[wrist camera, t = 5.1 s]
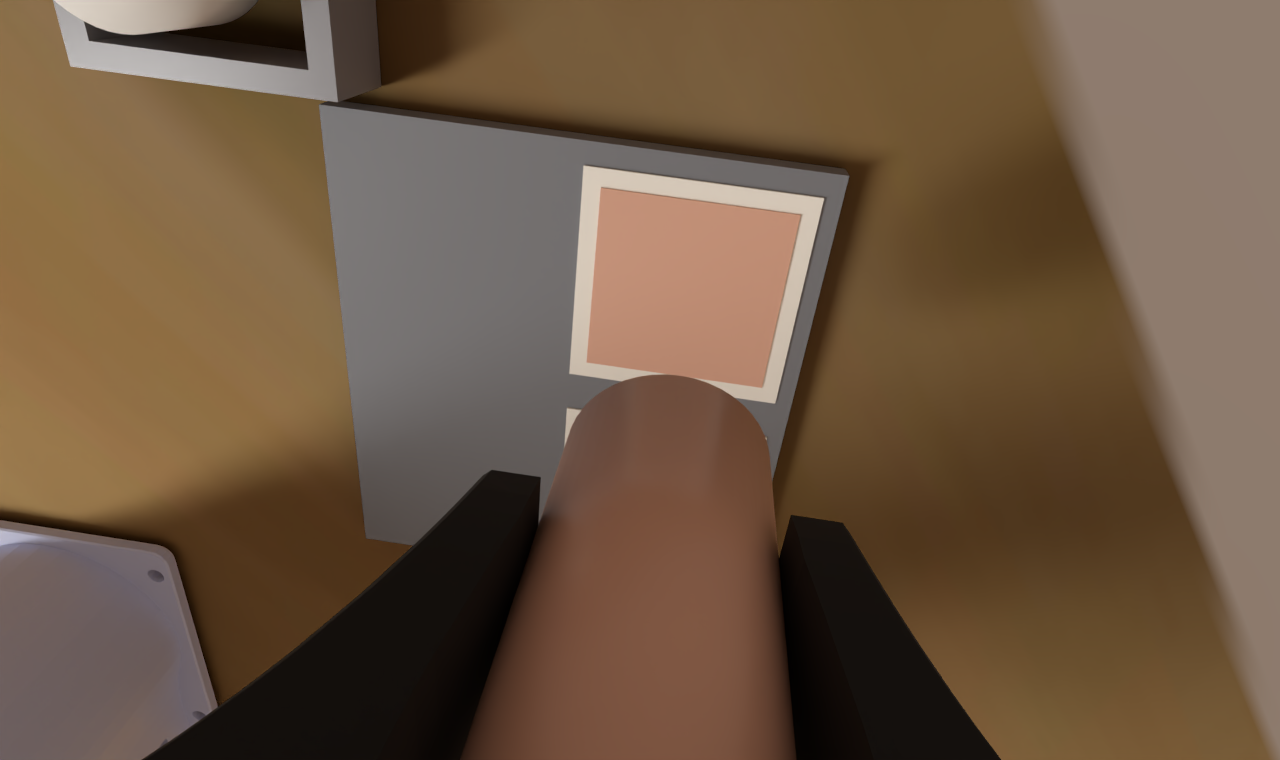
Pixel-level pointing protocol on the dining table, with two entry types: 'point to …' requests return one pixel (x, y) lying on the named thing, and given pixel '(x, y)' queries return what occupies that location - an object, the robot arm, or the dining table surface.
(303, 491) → the dining table surface
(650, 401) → the tan rounded cylinder
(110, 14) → the button
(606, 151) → the picture board
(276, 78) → the button housing
